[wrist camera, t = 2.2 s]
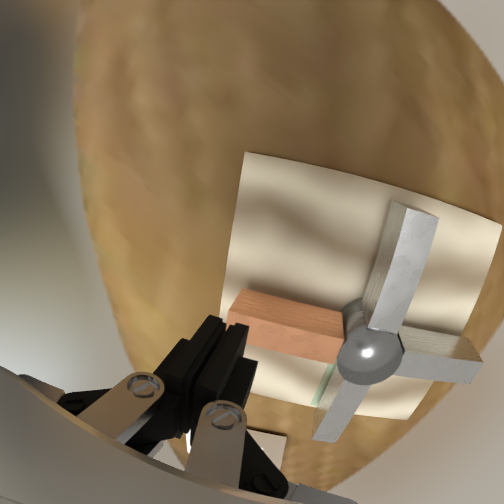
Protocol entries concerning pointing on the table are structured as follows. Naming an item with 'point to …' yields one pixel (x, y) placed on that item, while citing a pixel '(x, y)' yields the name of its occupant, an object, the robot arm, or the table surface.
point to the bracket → (263, 445)
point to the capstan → (363, 327)
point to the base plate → (344, 266)
